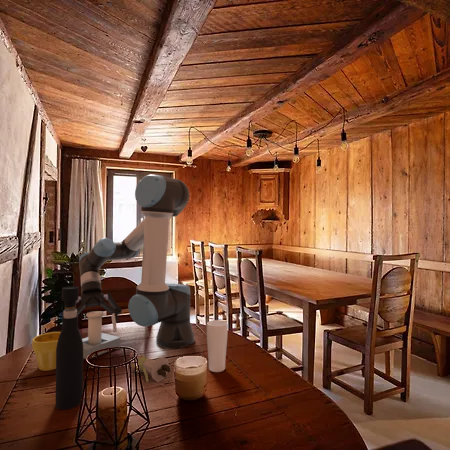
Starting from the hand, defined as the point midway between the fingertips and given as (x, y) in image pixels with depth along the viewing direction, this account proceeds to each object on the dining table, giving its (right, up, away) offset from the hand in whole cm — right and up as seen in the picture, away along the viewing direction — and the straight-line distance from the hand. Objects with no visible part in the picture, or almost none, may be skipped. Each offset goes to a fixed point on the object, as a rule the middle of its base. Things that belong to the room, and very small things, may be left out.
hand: (95, 333), depth 118 cm
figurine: (+24, -7, -17) cm, 31 cm away
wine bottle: (+7, -7, -34) cm, 35 cm away
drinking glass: (+44, -7, -13) cm, 47 cm away
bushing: (-1, -7, +2) cm, 8 cm away
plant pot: (-10, -7, -12) cm, 17 cm away
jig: (-2, -7, +3) cm, 8 cm away
